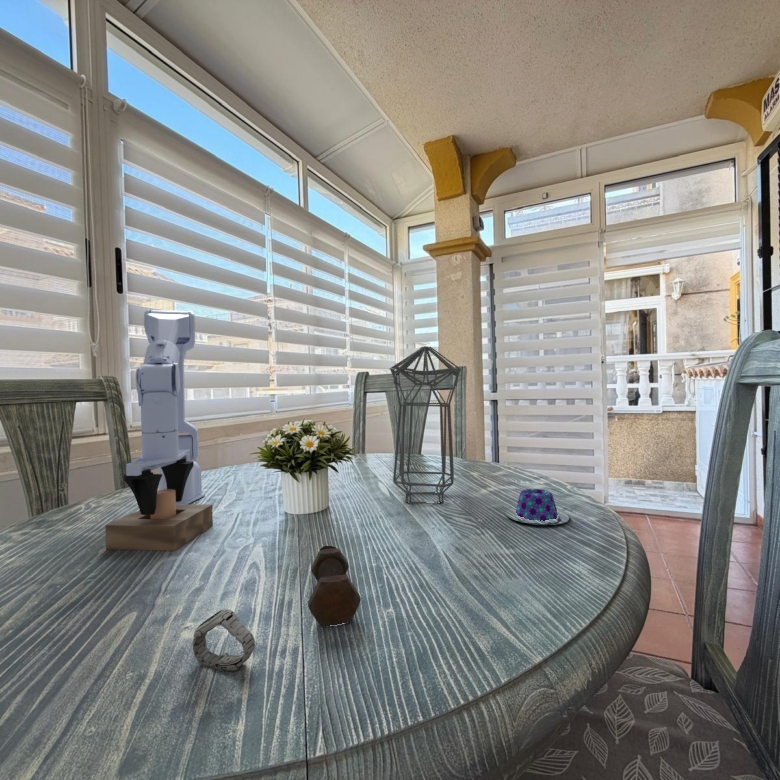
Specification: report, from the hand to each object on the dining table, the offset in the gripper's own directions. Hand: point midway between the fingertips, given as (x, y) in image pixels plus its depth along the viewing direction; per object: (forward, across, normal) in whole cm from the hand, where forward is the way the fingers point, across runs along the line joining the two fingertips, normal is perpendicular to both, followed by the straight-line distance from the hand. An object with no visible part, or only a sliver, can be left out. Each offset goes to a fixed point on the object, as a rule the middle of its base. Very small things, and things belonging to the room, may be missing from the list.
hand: (162, 507), depth 74 cm
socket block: (+5, 0, 0) cm, 5 cm away
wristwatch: (+6, +32, +28) cm, 43 cm away
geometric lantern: (+5, -26, +47) cm, 54 cm away
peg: (+5, 0, 0) cm, 5 cm away
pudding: (+6, -13, +68) cm, 69 cm away
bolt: (+6, +18, +35) cm, 40 cm away
